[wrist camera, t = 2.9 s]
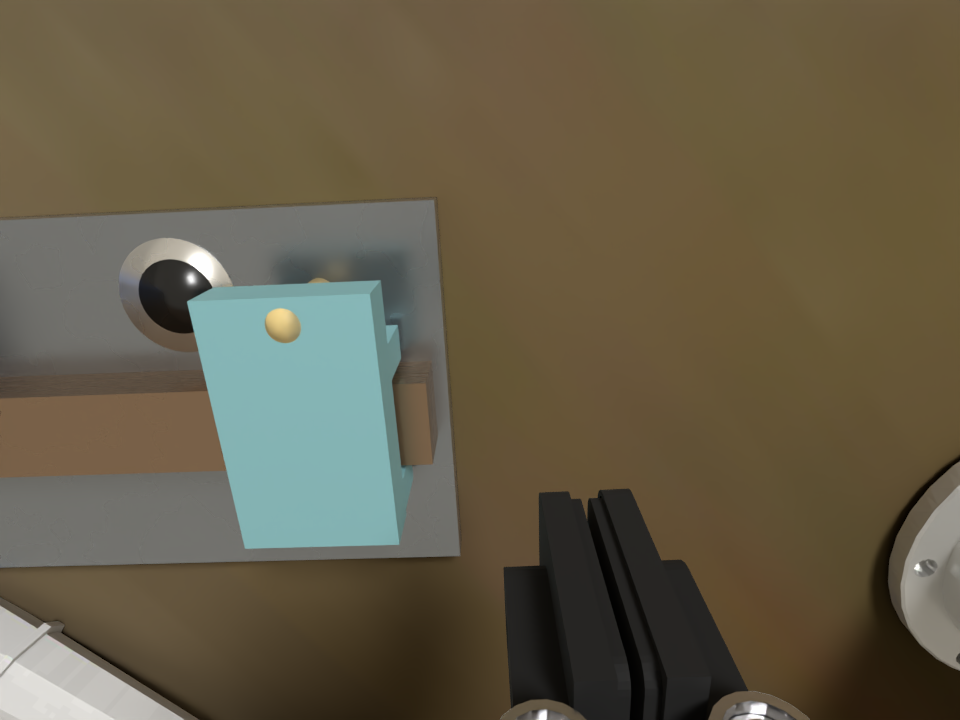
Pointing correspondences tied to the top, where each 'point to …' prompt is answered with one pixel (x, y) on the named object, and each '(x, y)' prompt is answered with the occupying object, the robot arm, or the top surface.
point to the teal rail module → (306, 411)
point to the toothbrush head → (66, 677)
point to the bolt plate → (103, 339)
